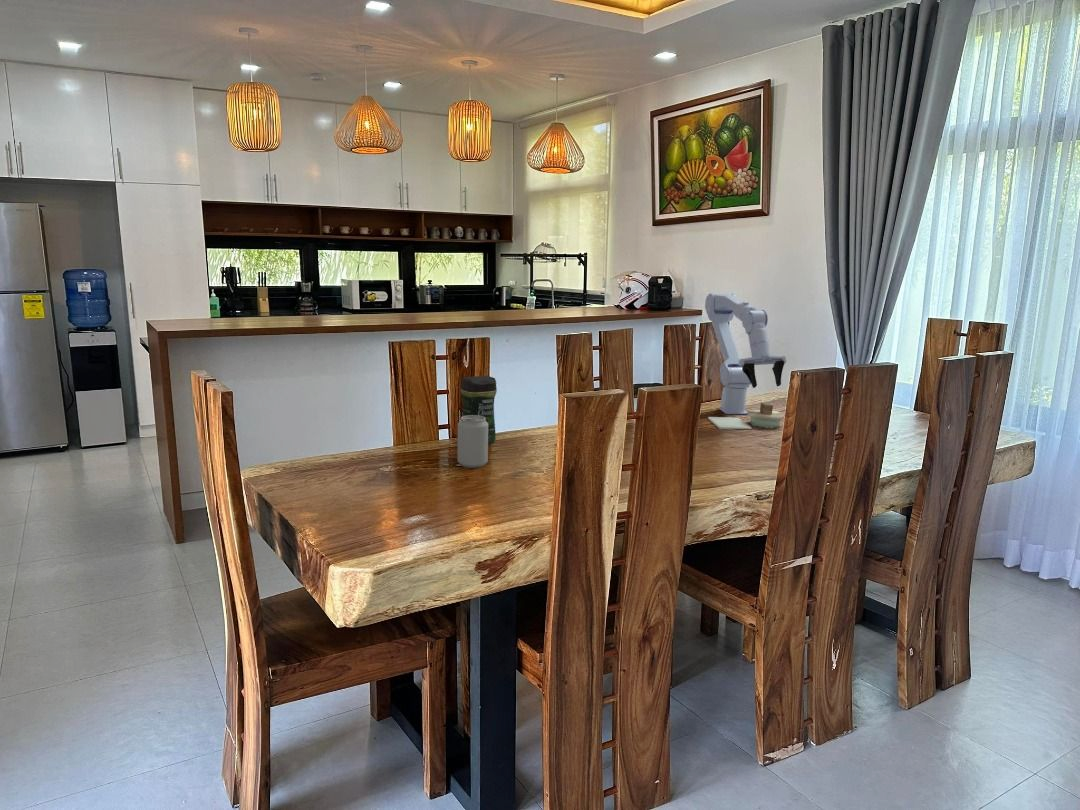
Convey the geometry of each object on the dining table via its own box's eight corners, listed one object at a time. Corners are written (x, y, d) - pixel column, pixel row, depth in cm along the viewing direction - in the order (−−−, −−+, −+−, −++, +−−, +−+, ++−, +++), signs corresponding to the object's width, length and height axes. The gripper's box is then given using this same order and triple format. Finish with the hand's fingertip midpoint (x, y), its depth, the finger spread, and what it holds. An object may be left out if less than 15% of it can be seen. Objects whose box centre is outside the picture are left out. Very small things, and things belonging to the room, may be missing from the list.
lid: (743, 411, 238) (744, 400, 237) (776, 412, 238) (777, 400, 237) (754, 419, 227) (755, 407, 226) (789, 419, 227) (790, 408, 227)
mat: (707, 418, 239) (707, 417, 239) (737, 419, 240) (738, 417, 239) (719, 429, 225) (720, 427, 225) (751, 429, 226) (752, 427, 226)
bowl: (746, 421, 237) (747, 412, 237) (773, 421, 238) (774, 412, 237) (755, 427, 228) (756, 418, 228) (783, 428, 229) (784, 419, 228)
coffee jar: (470, 448, 196) (470, 380, 192) (455, 441, 202) (455, 375, 198) (500, 443, 202) (501, 377, 198) (485, 437, 208) (486, 372, 204)
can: (451, 463, 182) (451, 416, 179) (473, 458, 187) (474, 412, 184) (471, 470, 177) (471, 422, 174) (494, 464, 182) (494, 417, 180)
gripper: (740, 342, 228) (747, 383, 224) (786, 339, 229) (794, 380, 225) (734, 350, 235) (741, 390, 231) (778, 347, 236) (786, 387, 232)
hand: (766, 386), depth 229 cm, fingers open, 7 cm apart
